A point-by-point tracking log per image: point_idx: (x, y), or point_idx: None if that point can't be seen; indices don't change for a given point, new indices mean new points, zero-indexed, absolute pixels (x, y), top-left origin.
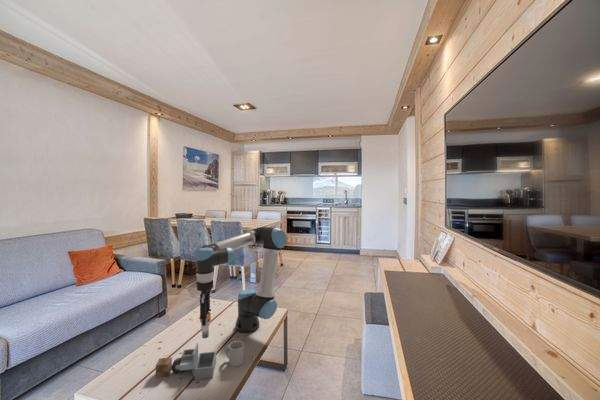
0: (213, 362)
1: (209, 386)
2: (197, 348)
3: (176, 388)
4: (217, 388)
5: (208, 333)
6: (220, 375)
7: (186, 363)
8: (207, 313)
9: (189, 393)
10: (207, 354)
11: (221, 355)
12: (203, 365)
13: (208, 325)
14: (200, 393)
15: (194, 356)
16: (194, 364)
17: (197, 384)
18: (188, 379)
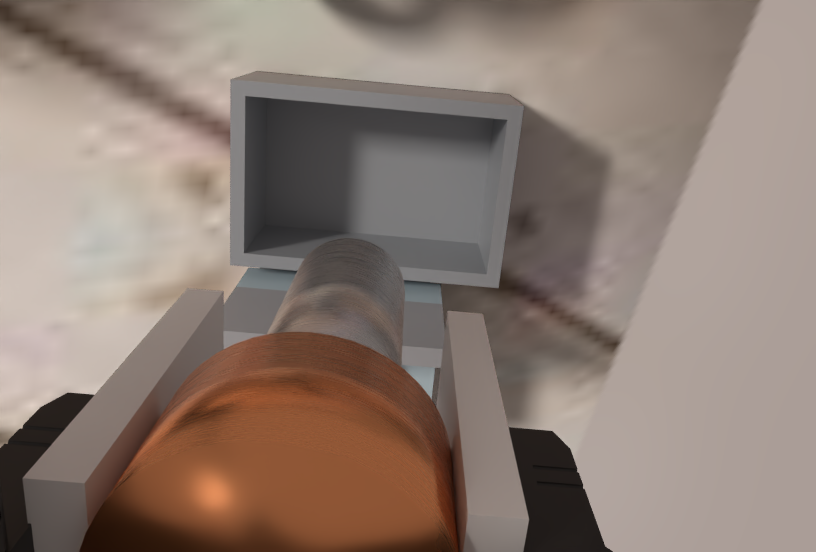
0: (442, 101)
1: (616, 117)
2: (263, 316)
3: (544, 375)
4: (670, 40)
5: (356, 257)
6: (498, 17)
7: (415, 376)
8: (215, 544)
9: (638, 273)
10: (249, 178)
11: (169, 16)
12: (317, 196)
13: (336, 321)
14: (673, 187)
15: (432, 333)
16: (433, 298)
17: (553, 223)
18: (466, 302)
